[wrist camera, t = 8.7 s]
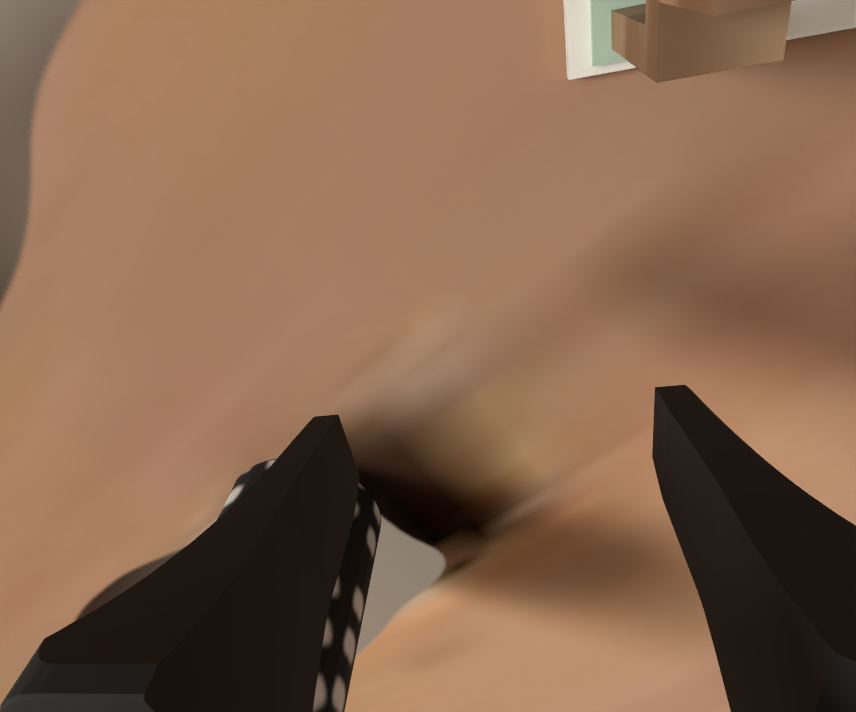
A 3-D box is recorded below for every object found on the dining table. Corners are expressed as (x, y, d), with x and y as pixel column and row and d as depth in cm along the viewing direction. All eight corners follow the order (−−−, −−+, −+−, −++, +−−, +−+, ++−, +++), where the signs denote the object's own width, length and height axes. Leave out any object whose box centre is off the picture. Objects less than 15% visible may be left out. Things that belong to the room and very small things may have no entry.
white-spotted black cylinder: (360, 452, 29) (181, 1116, 12) (395, 557, 33) (300, 1145, 17) (207, 463, 30) (-135, 1067, 14) (261, 562, 35) (52, 1106, 18)
